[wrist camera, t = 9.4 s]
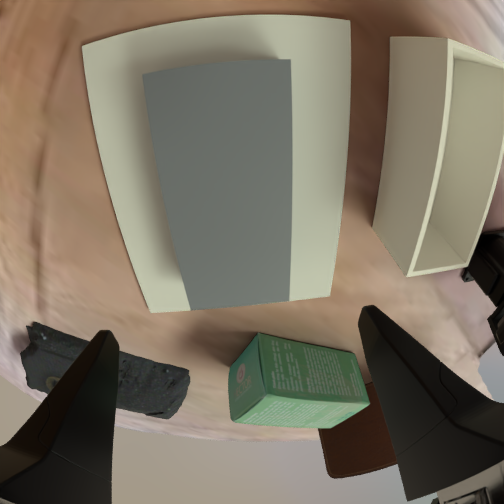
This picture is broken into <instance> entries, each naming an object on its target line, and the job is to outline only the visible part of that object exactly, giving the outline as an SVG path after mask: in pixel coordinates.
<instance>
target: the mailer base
mask: <svg viewBox="0 0 504 504" xmlns="http://www.w3.org/2000/svg"><path fill="white" fill-rule="evenodd" d="M503 153H504V62H502V61H500V60H498V59H496V58H494V57H492V56H490V55H488V54H486V53H483V52H481V51H479V50H477V49H474V48H472V47H469V46H467V45H464V44H462V43H459V42H457V41H454V40H451V39H449V38H439V37H410V36H399V37H390V72H389V96H388V111H387V124H386V135H385V144H384V153H383V162H382V169H381V177H380V184H379V190H378V197H377V203H376V209H375V215H374V220H373V226H372V229H373V230H374V232H375V233H376V234H377V236H378V237H379V238H380V240H381V241H382V243H383V244H384V245H385V247H386V248H387V250H388V251H389V253H390V254H391V255H392V257H393V258H394V260H395V261H396V263H397V264H398V266H399V267H400V269H401V270H402V272H403V273H404V275H405V276H406V277H412V276H418V275H424V274H430V273H436V272H441V271H447V270H452V269H458V268H463V267H468V264H469V262H470V260H471V257H472V255H473V252H474V250H475V247H476V244H477V242H478V239H479V237H480V234H481V231H482V228H483V225H484V222H485V219H486V216H487V213H488V210H489V207H490V204H491V201H492V197H493V194H494V190H495V187H496V183H497V179H498V175H499V171H500V167H501V162H502V158H503Z"/></svg>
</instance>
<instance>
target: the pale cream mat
mask: <svg viewBox="0 0 504 504" xmlns="http://www.w3.org/2000/svg"><path fill="white" fill-rule="evenodd" d="M82 52H83V61H84V69H85V76H86V83H87V90H88V96H89V102H90V108H91V114H92V119H93V124H94V129H95V134H96V139H97V143H98V148H99V152H100V157H101V161H102V165H103V169H104V173H105V177H106V181H107V185H108V188H109V192H110V196H111V199H112V203H113V206H114V210H115V213H116V216H117V220H118V223H119V226H120V229H121V233H122V236H123V239H124V242H125V245H126V248H127V251H128V254H129V257H130V260H131V262H132V265H133V268H134V271H135V274H136V276H137V279H138V282H139V284H140V287H141V290H142V292H143V295H144V298H145V300H146V303H147V305H148V308H149V310H150V313H158V312H174V311H189V310H191V309H190V306H189V302H188V299H187V295H186V291H185V288H184V284H183V280H182V276H181V273H180V269H179V265H178V261H177V257H176V253H175V249H174V245H173V241H172V236H171V232H170V228H169V223H168V219H167V214H166V210H165V205H164V201H163V196H162V191H161V186H160V181H159V176H158V171H157V166H156V160H155V155H154V149H153V144H152V138H151V132H150V126H149V120H148V113H147V106H146V99H145V92H144V85H143V77H142V74H146V73H150V72H156V71H161V70H166V69H172V68H178V67H185V66H192V65H200V64H208V63H218V62H229V61H243V60H267V59H291V81H292V141H293V175H292V238H291V270H290V295H289V301H295V300H303V299H311V298H319V297H327V296H330V292H331V286H332V280H333V273H334V267H335V260H336V254H337V247H338V239H339V232H340V224H341V216H342V207H343V198H344V188H345V178H346V166H347V153H348V139H349V121H350V95H351V28H350V20H343V19H335V18H326V17H315V16H300V15H237V16H222V17H211V18H202V19H194V20H187V21H180V22H174V23H168V24H163V25H157V26H152V27H148V28H143V29H139V30H135V31H131V32H127V33H123V34H119V35H115V36H112V37H109V38H105V39H102V40H99V41H96V42H92V43H89V44H86V45H84V46H82ZM284 302H286V301H284ZM275 303H277V302H275ZM266 304H268V303H266ZM257 305H258V304H257ZM247 306H248V305H247ZM237 307H238V306H237ZM214 309H215V308H214Z"/></svg>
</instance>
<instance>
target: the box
mask: <svg viewBox="0 0 504 504" xmlns="http://www.w3.org/2000/svg"><path fill="white" fill-rule="evenodd" d="M228 393H229V406H230V416H231V420H232V421H233V422H235V423H244V424H254V425H266V426H280V427H299V428H332V427H334V426H335V425H337V424H339V423H341V422H342V421H344V420H346V419H347V418H349V417H351V416H352V415H354V414H356V413H357V412H359V411H361V410H362V409H364V408H365V407H367V406H368V405H369V404H370V401H369V398H368V395H367V391H366V388H365V385H364V381H363V378H362V375H361V372H360V368H359V365H358V362H357V359H356V356H355V354H354V353H349V352H345V351H340V350H335V349H330V348H326V347H321V346H315V345H310V344H306V343H301V342H296V341H292V340H287V339H283V338H279V337H275V336H270V335H266V334H262V333H259V332H258V334H257V335H256V336H255V338H254V339H253V340H252V341H251V343H250V344H249V345H248V347H247V348H246V349H245V350H244V352H243V353H242V354H241V355H240V356H239V358H238V359H237V360H236V361H235V362H234V363H233V364H232V366H231V367H230V371H229V378H228Z"/></svg>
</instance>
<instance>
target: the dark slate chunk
mask: <svg viewBox="0 0 504 504" xmlns="http://www.w3.org/2000/svg"><path fill="white" fill-rule="evenodd" d="M26 327H27V330H28V334H29V338H30V341H31V342H30V344H29V346H28V347H27V348H26V350H23V351H22V352H21V353H20V355H21V360H22V364H23V367H24V369H25V371H26V380H27V385H28V386H29V387H30V388H31V389H37V390H38V391H41V392H45V393H47V394H49V393H50V391H51V390H52V389H53V387H54V386H55V385H56V383H57V382H58V381H59V380H60V378H61V377H62V376H63V374H64V373H65V372H66V371H67V369H68V368H69V367H70V366H71V364H72V363H73V362H74V361H75V359H76V358H77V357H78V356H79V355H80V353H81V352H82V351H83V350H84V348H85V347H86V346H87V345H88V344H89V341H87V340H83V339H80V338H77V337H74V336H72V335H69V334H65V333H63V332H60V331H57V330H55V329H53V328H50V327H48V326H45V325H42V324H40V323H37V322H35V323H33V327H29V326H26ZM188 374H189V370H187V369H185V368H180V367H176V366H173V365H169V364H163V363H158V362H154V361H152V360H149V359H145V358H142V357H138V356H134V355H132V354H128V353H125V352H122V351H119V383H118V394H117V403H116V408H119V409H124V410H128V411H132V412H138V413H144V414H146V415H147V416H153V417H157V418H162V419H169V418H171V417H172V416H173V415H174V414H175V413H176V412H177V411H178V409H179V407H180V406H181V405H182V402H183V400H184V399H185V397H186V394H187V390H188V386H189V384H190V376H189V375H188Z"/></svg>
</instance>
